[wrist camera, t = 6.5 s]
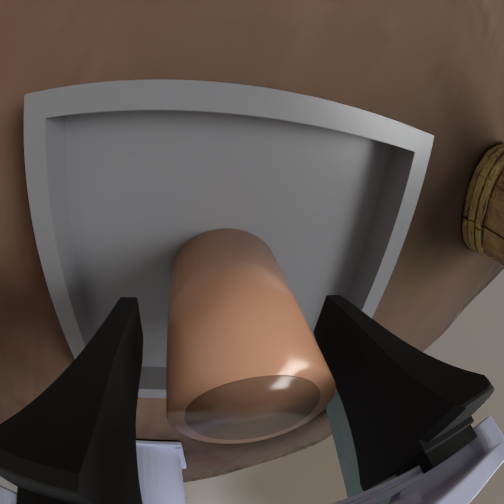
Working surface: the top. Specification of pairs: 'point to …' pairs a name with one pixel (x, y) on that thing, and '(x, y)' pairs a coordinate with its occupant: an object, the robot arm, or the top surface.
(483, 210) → the wooden mug
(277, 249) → the gray tray
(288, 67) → the top surface
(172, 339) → the terracotta cup
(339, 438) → the disposable coffee cup
